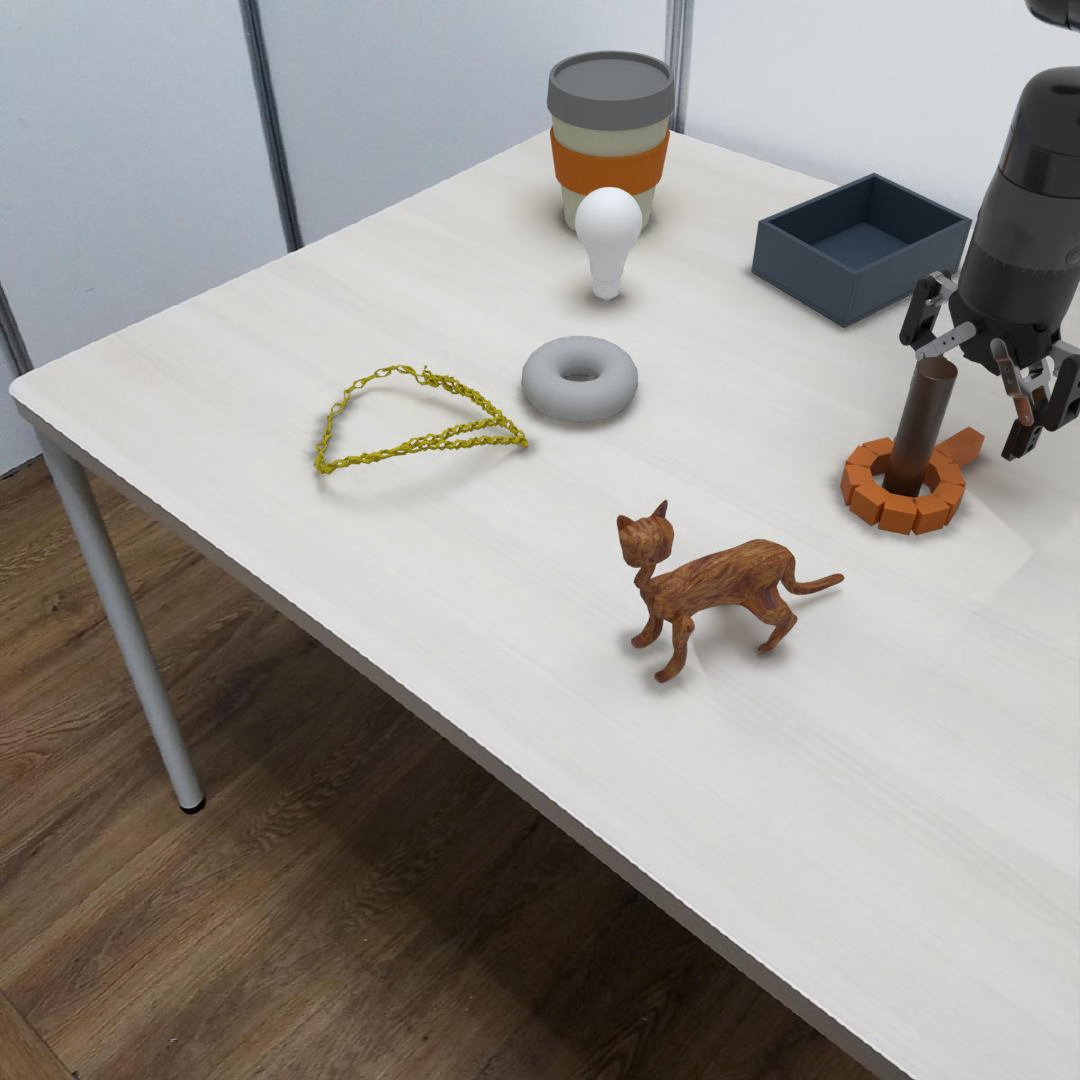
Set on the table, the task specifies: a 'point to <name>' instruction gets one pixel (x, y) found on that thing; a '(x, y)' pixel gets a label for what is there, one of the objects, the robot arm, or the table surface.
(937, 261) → the bin
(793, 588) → the cat figurine
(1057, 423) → the robot arm
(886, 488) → the post
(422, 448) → the decorative chain
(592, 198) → the lightbulb
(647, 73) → the reusable coffee cup
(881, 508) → the ring
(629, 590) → the table surface
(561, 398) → the donut
